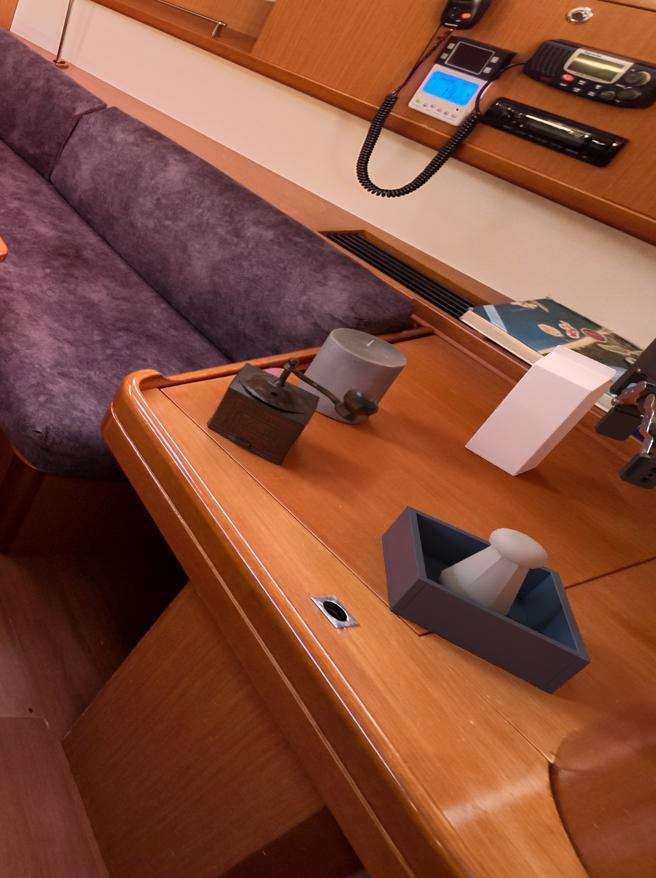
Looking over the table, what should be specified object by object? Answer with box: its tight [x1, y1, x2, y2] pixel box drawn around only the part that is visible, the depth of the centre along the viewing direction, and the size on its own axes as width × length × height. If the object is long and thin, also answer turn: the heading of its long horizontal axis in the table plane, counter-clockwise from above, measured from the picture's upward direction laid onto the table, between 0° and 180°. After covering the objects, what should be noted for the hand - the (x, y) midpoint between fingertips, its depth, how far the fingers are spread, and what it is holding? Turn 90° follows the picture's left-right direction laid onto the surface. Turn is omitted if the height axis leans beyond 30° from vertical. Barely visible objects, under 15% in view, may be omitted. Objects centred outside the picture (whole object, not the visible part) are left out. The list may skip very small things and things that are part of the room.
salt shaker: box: [439, 527, 549, 616], centre depth 78 cm, size 6×6×13 cm
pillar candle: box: [296, 327, 408, 425], centre depth 109 cm, size 10×10×15 cm
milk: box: [464, 345, 618, 477], centre depth 98 cm, size 6×6×22 cm
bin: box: [381, 505, 591, 695], centre depth 80 cm, size 14×14×7 cm
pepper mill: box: [206, 356, 380, 466], centre depth 100 cm, size 16×11×18 cm
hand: (619, 458), depth 71 cm, fingers open, 8 cm apart
